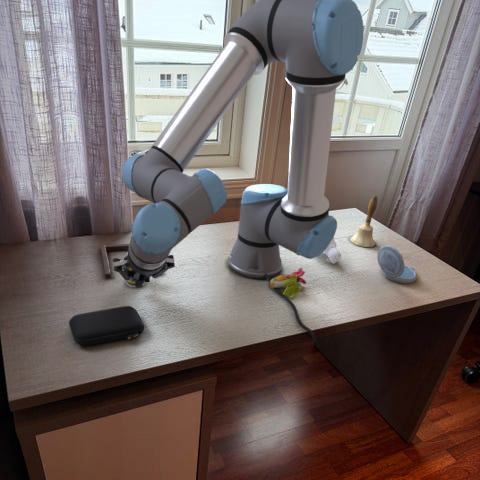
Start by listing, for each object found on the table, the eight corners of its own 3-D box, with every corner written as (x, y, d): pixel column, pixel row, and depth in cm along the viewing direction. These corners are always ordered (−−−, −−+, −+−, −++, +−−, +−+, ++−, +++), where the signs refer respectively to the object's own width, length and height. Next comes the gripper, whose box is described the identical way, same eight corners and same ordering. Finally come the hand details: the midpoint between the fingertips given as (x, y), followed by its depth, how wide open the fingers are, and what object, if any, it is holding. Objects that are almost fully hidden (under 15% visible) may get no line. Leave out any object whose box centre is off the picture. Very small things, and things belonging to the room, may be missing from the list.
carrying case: (77, 354, 90) (148, 339, 96) (76, 342, 88) (148, 328, 94) (68, 324, 97) (134, 312, 103) (66, 313, 95) (134, 301, 101)
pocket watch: (378, 239, 126) (412, 232, 133) (368, 273, 132) (401, 264, 140) (406, 255, 119) (440, 246, 127) (393, 289, 126) (427, 279, 133)
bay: (161, 275, 118) (161, 270, 117) (105, 278, 114) (105, 273, 113) (152, 247, 130) (152, 242, 130) (100, 249, 126) (100, 244, 125)
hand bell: (346, 241, 149) (358, 195, 140) (355, 234, 155) (368, 189, 146) (369, 249, 146) (383, 203, 136) (378, 242, 152) (392, 197, 142)
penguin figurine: (327, 222, 138) (352, 242, 130) (320, 246, 143) (343, 266, 136) (311, 224, 135) (335, 245, 127) (304, 248, 140) (327, 269, 133)
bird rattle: (264, 278, 114) (300, 276, 111) (273, 261, 123) (305, 259, 120) (268, 299, 117) (302, 298, 114) (275, 282, 126) (307, 280, 123)
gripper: (115, 272, 84) (112, 298, 106) (183, 268, 88) (166, 294, 110) (111, 234, 85) (108, 268, 107) (178, 232, 89) (162, 265, 111)
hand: (137, 281), depth 108 cm, fingers closed
